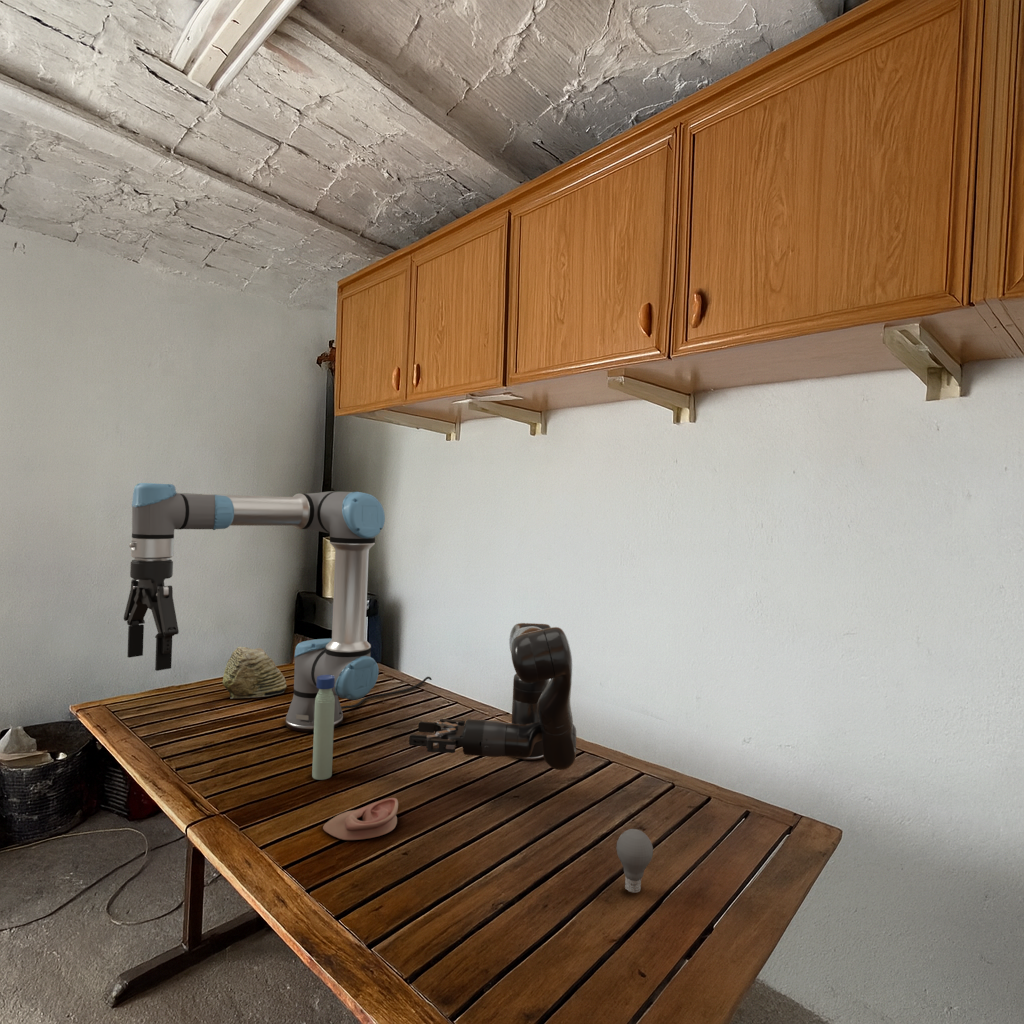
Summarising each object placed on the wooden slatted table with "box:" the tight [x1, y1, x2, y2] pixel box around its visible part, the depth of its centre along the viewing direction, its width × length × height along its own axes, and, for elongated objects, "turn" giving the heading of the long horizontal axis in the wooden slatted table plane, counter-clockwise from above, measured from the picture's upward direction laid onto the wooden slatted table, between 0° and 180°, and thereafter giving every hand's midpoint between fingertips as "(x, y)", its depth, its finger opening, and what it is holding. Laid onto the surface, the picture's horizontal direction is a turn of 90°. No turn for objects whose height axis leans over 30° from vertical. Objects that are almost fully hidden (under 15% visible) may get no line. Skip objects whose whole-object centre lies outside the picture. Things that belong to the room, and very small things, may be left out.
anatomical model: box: [322, 797, 399, 841], centre depth 122 cm, size 13×4×12 cm
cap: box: [316, 675, 335, 689], centre depth 143 cm, size 4×4×2 cm
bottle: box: [311, 688, 335, 781], centre depth 144 cm, size 4×4×22 cm
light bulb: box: [615, 828, 654, 894], centre depth 106 cm, size 6×6×10 cm
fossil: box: [222, 646, 288, 699], centre depth 198 cm, size 9×18×15 cm, turn 132°
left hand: (148, 662), depth 129 cm, fingers open, 13 cm apart
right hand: (414, 732), depth 142 cm, fingers open, 8 cm apart
